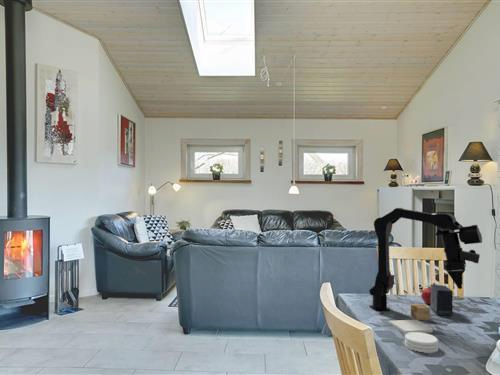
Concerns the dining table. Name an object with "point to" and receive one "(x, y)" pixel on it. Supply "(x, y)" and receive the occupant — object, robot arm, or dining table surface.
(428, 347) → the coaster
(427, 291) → the pomegranate
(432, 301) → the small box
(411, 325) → the white board
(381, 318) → the dining table surface
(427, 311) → the oak cube
